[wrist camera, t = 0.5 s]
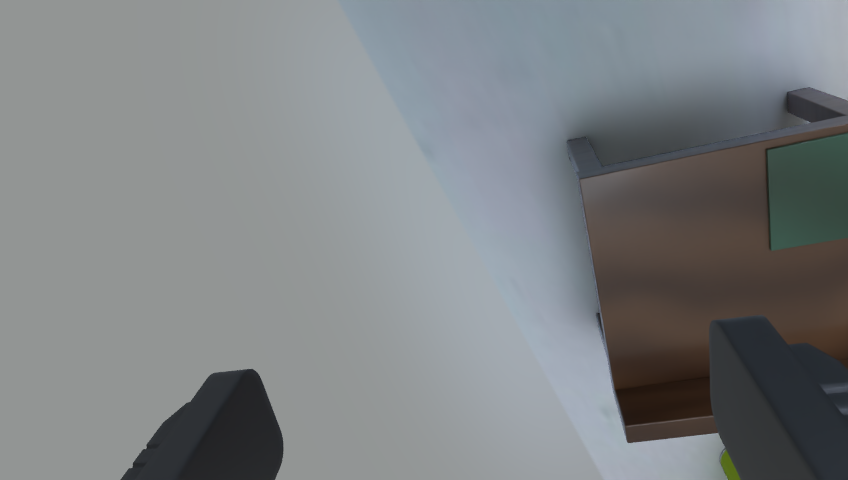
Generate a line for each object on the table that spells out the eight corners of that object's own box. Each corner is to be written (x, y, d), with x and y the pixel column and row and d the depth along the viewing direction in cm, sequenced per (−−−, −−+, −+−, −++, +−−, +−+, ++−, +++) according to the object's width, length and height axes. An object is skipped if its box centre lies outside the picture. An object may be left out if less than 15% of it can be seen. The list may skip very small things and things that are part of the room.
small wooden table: (562, 138, 36) (587, 200, 26) (813, 82, 33) (951, 128, 23) (595, 330, 41) (627, 443, 31) (815, 296, 38) (928, 409, 28)
